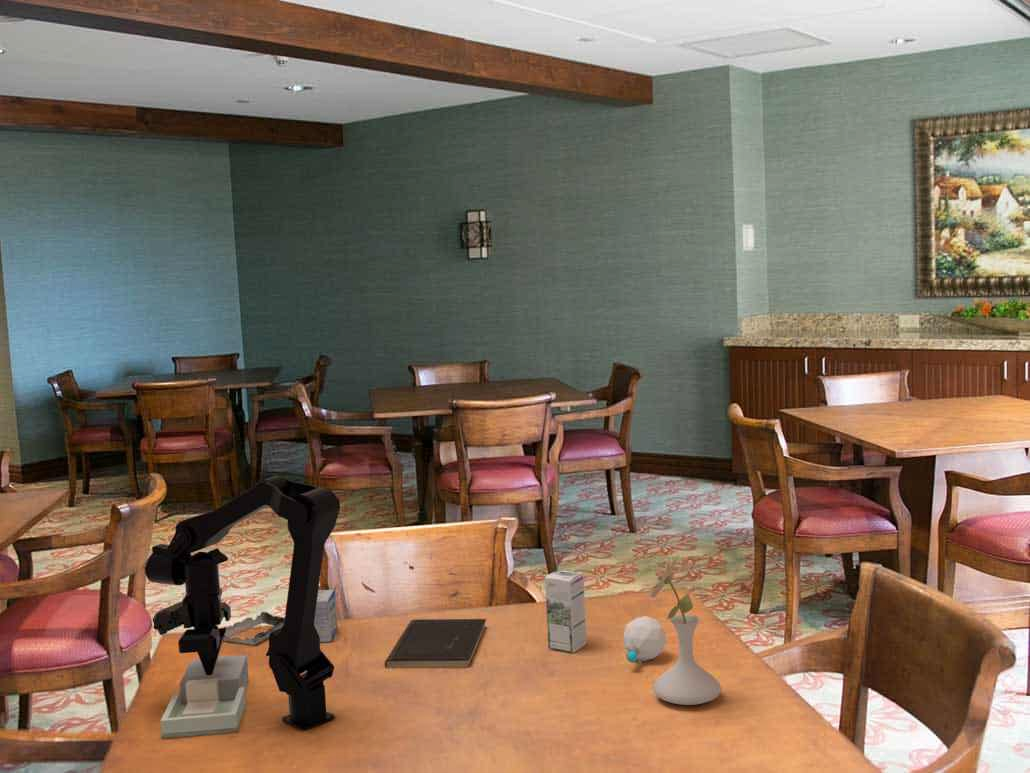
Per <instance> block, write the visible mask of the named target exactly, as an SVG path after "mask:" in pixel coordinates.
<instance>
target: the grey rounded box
mask: <svg viewBox="0 0 1030 773" xmlns="http://www.w3.org/2000/svg"><path fill="white" fill-rule="evenodd" d="M213 678H217V679H218V691H219V702H220V701H232V700H235V698H236V695H237V692H238V689H239V688H241V687H245V689H246V688H247V685H248V682H249V666H248V655H247V654H245V655H242V654H241V655H232V656H221V657H219V656H218V658H217V662H216V665H215V668H214V671H213V674H212V675H206V674H205V671H204V668H203V666H202V663H201V660H200V658H195V659H193V658H192V659H190V662H189V664H188V666H187V667H186V670H185V672H184V674H183V676H182V678H181V680H180V682H179V693H180V700H181V705H185V704H187V697H186V683H187V681H189V680H201V679H213Z"/></svg>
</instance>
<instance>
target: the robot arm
mask: <svg viewBox="0 0 1030 773" xmlns="http://www.w3.org/2000/svg"><path fill="white" fill-rule="evenodd" d="M267 507H269V508H270V509H271V510H272V511H273V512H274V513H275V514H276V515H277V517H279V518H280V517H281V518H283V519H285V520H286V521H287V530H288V532H289V535H290V537H291V539H292V541H293V551H292V555H291V556H292V557H291V565H290V574H289V582H288V590H287V597H286V599H287V600H286V605H285V606H286V607H285V612H284V618H285V620H284V624H283V626H282V627H281V628H279V629H277V630H275V631H273V632H271V633H270V635H269V638H268V650H267V652H266V654H265V657H268V667H269V668H270V669H271V671H272V674H273V677H274V680H275V681H276V682H275V683H276V686H277V689H278V690H279V692H281V693H285V694H286V695H288V708H289V714H287V715H283V716H282V717H281V719H282V720H281V721H283V722H285V723H286V724H289V725H291V726H292V727H295V728H297V729H298V730H301V731H303V730H307V729H311V728H313V727H316V726H319V725H321V724H323V723H327V722H330V721H332V720H334V719H336V717H335V714H334V713H331V712H329V711H327V700H326V686H325V685H324V681H326V680H328V679H330V678H332V677H333V674H334V670H335V665H334V664H333V663H332V662H331V660H330V659H329V658H328V657H327V656H326V655H325V653H324V652H323V651H322V650H321V642H320V637H319V634H318V632H317V630H316V628H315V626H314V619H315V611H316V604H317V596H318V591H319V587H320V581H321V580H320V579H321V572H322V564H323V556H324V550H325V545H326V543H327V540H328V539H329V537H330V535H331V534H332V532H333V530H334V529H335V527H336V524H337V521H338V518H339V513H340V510H341V503H340V499H339V498H338V497H337V495H336V494H335V493H334V491H332V489H331V488H328V487H324V486H323V487H318V486H316V485H313V484H309V483H305V482H300V481H295V480H292V479H289V478H287V477H284V476H281V475H275V476H271V477H269V478H266V479H262V480H260V481H259V482H258V483H257V484H256V485H254V486H252V487H251V488H249V489H247V490H246V491H244V492H243V493H241V494H239V495H237V496H235V497H234V498H233V499H230V500H229V501H227V502H225V503H223V504H222V505H220V506H219V507H217V508H215V509H213V510H211V511H207V512H204V513H201V514H198V515H195V516H193V517H189V518H186V519H184V520H183V519H182V520H181V521H178V522H177V524H176V525H175V527H174V529H175V533H174V535H173V537H172V539H171V540H170V542H169V544H164V543H159V544H155V545H152V547H151V550H152V551H151V552H152V553H151V554H150V555H149V557H148V558H147V561H146V564H145V567H144V573H145V576H146V578H147V580H148V581H149V582H151V583H154V584H162V585H170V586H183V585H184V586H185V589H184V590H185V596H184V597H183V598H182V600H181V601H180V602H177V603H174V604H172V605H170V606H169V605H168V606H167V607H165V608H162V609H161V610H159V611H157V612H156V613H155V614H154V615H153V618H152V619H151V620H152V622H153V630H156V631H157V632H158V633H159V635H160V636H164V635H165V634H167V633H168V632H169V631H170V632H171V631H172V630H174V629H177V628H179V627H181V626H183V629H186V630H184V632H183V633H182V634H181V636H180V638H179V640H178V641H177V644H178V653H179V654H187V653H188V654H189V653H190V654H191V653H197V654H198V657H199V658H198V659H200V660H201V663H202V666H203V668H204V671H205V674H206V675H212V674H213V671H214V668H215V665H216V662H217V658H218V657H219V656H220V652H221V649H222V645H223V642H224V641H223V639H224V636H225V633H226V628H223V627H219V626H220V625H221V624H222V621H223V620H224V619H225V622H230V620H231V618H232V613H231V612H232V610H231V606H230V605H229V604H228V603H226V602H225V601H224V602H222V598H221V597H222V595H223V588H222V587H221V586H220V585H221V584H220V573H219V572H220V570H219V565H220V564H222V563H225V562H228V560H229V557H228V556H226V554H225V553H223V552H221V551H220V549H219V547H217V548H214V549H212V550H211V549H210V550H209V551H201V550H203V549H206V548H208V547H211V546H214V545H217V544H218V543H219V542H221V541H222V540H223V539H224V538H225V537H226V536H227V535H229V532H230V531H231V529H232V528H233V527H234V526H236V525H237V524H239V523H242V521H244V520H246V519H248V518H250V517H252V516H253V515H255V514H257V513H259V512H261V511H262V510H264V509H265V508H267ZM197 551H198V552H197ZM194 552H195V553H194ZM192 553H193V554H192Z"/></svg>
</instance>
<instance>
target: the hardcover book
mask: <svg viewBox="0 0 1030 773" xmlns="http://www.w3.org/2000/svg"><path fill="white" fill-rule="evenodd" d="M486 621H487V618H458V619H457V618H453V619H452V618H451V619H450V618H447V619H446V618H443V619H442V618H440V619H439V618H438V619H435V618H432V619H426V618H425V619H424V618H423V619H411V620H410V621H409V623H408V625H407V626H406V627H405V629H404V631H403V633H402V634H401V635H400V637H399V639H398V640H397V642H396V643H395V645H394V646H393V648H392V650H391V652H390V653H389V655H388V657H387V658H386V659H385V661H384V668H385V669H387V668H388V669H389V667H392V668H395V669H396V668H397V667H401V668H403V669H404V667H409V668H410V667H411V669H412V668H468V667H469V666H470V662H471V660H472V658H473V656H474V654H475V651H476V649H477V647H478V644H479V642H480V639H481V637H482V635H483V633H484V630H485V628H486V627H485V626H486Z"/></svg>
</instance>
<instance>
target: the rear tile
mask: <svg viewBox="0 0 1030 773" xmlns="http://www.w3.org/2000/svg"><path fill="white" fill-rule="evenodd" d="M186 697H187V704H188V703H189V702H202V701H216V700H218V701H219V691H218V679H217V678H213V679H201V680H189V681H187V683H186ZM219 706H220V703H219Z"/></svg>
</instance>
